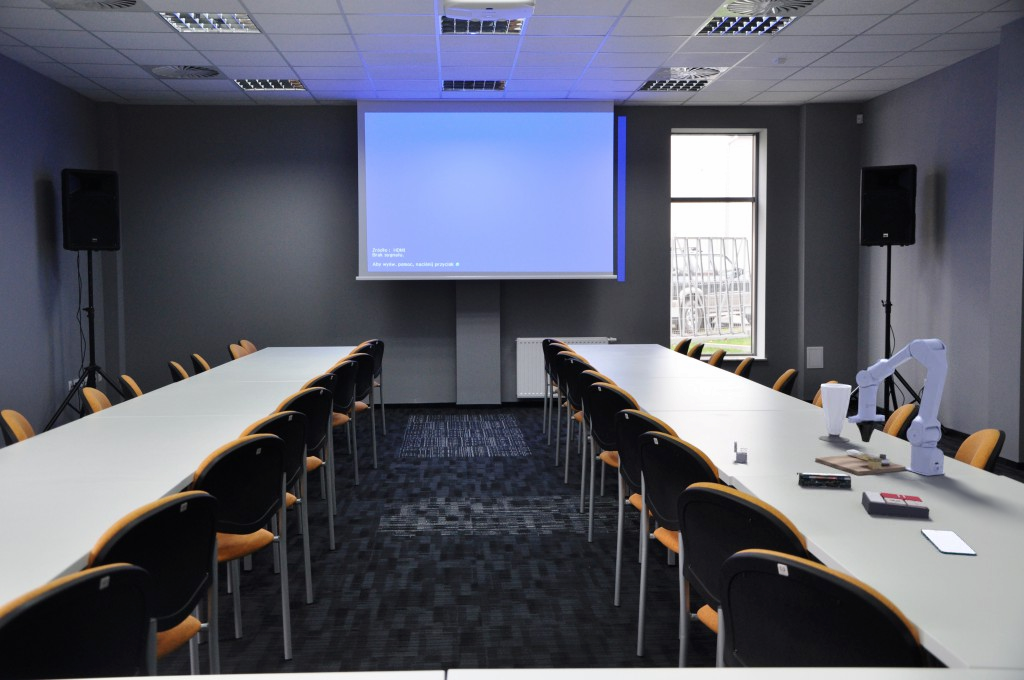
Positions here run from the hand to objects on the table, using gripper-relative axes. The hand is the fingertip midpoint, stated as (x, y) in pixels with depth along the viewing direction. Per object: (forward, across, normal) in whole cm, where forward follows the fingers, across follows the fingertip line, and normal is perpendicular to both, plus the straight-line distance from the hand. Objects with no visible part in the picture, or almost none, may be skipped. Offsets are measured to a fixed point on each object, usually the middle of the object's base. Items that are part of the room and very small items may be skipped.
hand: (865, 441), depth 279 cm
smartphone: (+6, +49, +78) cm, 92 cm away
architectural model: (+6, +41, -12) cm, 43 cm away
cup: (+6, -12, -29) cm, 32 cm away
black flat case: (+6, +39, +28) cm, 49 cm away
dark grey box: (+6, +40, +53) cm, 67 cm away
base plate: (+6, +11, +9) cm, 15 cm away
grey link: (+4, +6, +8) cm, 11 cm away
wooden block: (+4, +13, +15) cm, 20 cm away
